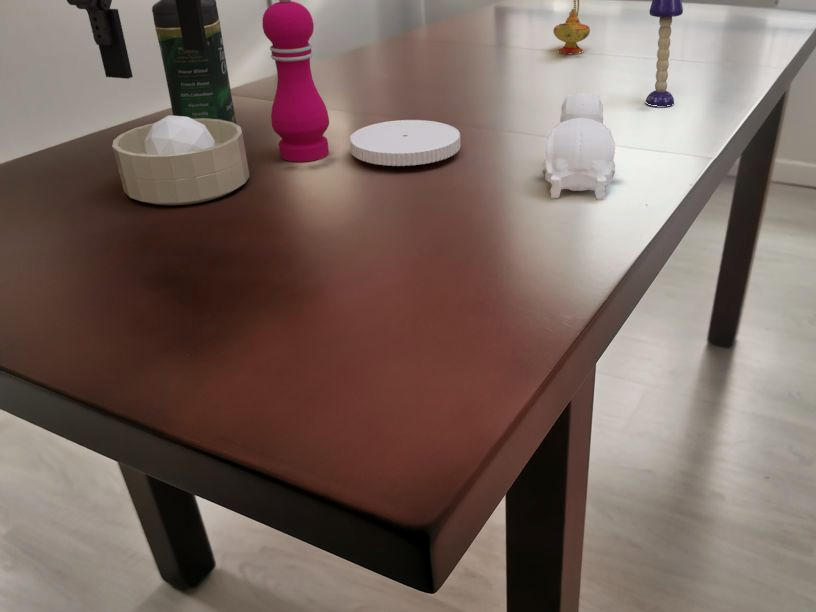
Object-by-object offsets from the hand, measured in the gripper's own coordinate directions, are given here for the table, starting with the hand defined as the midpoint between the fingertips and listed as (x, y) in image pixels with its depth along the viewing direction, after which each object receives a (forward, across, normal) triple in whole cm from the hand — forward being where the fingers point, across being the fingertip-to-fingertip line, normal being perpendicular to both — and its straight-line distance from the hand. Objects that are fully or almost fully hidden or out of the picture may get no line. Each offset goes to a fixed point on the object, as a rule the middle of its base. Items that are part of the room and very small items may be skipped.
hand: (160, 63), depth 88 cm
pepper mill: (+14, +14, -8) cm, 22 cm away
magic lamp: (+14, +80, -29) cm, 86 cm away
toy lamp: (+14, +49, -49) cm, 71 cm away
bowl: (+14, 0, 0) cm, 14 cm away
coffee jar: (+14, +18, +9) cm, 25 cm away
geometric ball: (+14, 0, 0) cm, 14 cm away
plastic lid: (+14, +17, -21) cm, 31 cm away
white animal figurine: (+14, +14, -44) cm, 49 cm away
